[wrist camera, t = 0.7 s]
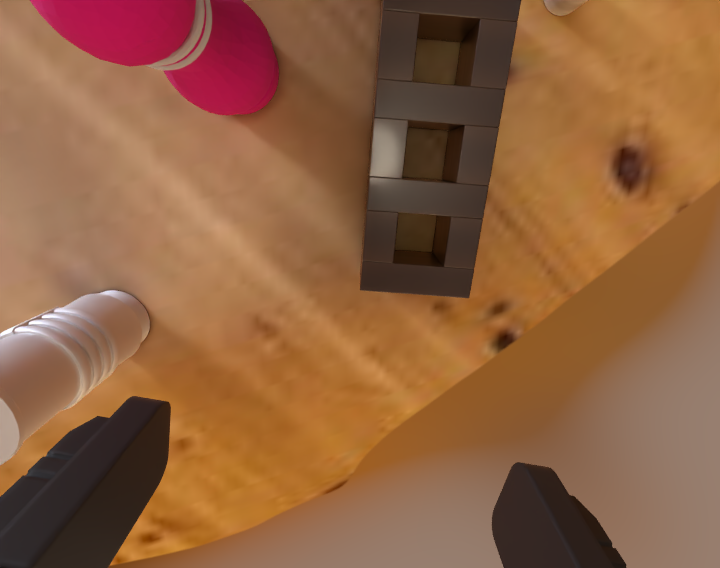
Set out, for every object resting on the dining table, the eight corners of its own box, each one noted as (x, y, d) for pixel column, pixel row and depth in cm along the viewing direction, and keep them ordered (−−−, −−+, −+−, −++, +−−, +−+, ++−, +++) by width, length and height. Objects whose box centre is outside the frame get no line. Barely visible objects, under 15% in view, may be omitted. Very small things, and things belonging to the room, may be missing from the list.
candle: (124, 272, 34) (-43, 349, 20) (169, 334, 36) (45, 444, 22) (66, 303, 35) (-133, 399, 21) (112, 362, 37) (-42, 486, 23)
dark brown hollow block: (381, -3, 28) (386, -36, 23) (497, 8, 28) (525, -24, 23) (360, 272, 34) (360, 290, 30) (454, 279, 35) (469, 298, 30)
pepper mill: (288, 23, 28) (140, -258, 9) (283, 126, 31) (155, 66, 12) (191, 11, 28) (-160, -303, 9) (193, 115, 30) (-86, 37, 11)
